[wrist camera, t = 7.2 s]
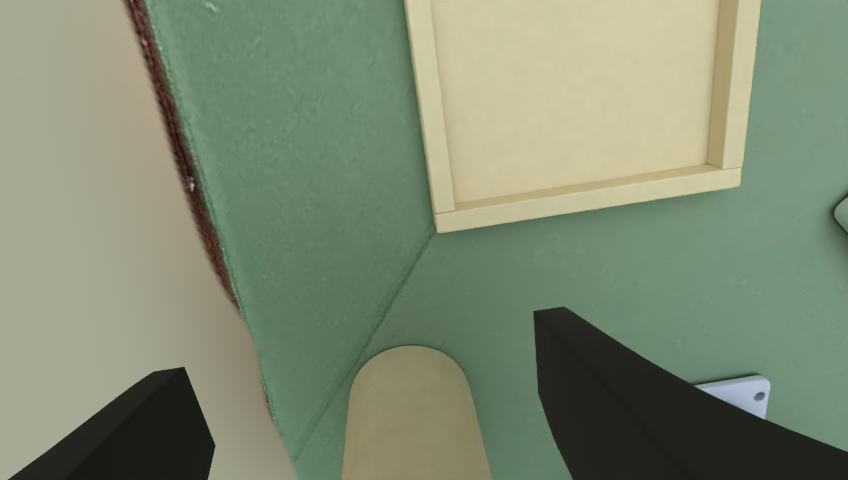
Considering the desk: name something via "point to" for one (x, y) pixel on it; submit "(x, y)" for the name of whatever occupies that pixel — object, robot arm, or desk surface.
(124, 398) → the robot arm
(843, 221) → the multiport hub
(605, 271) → the desk surface
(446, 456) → the candle
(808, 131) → the desk surface
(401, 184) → the desk surface
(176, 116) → the desk surface
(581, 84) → the tray
